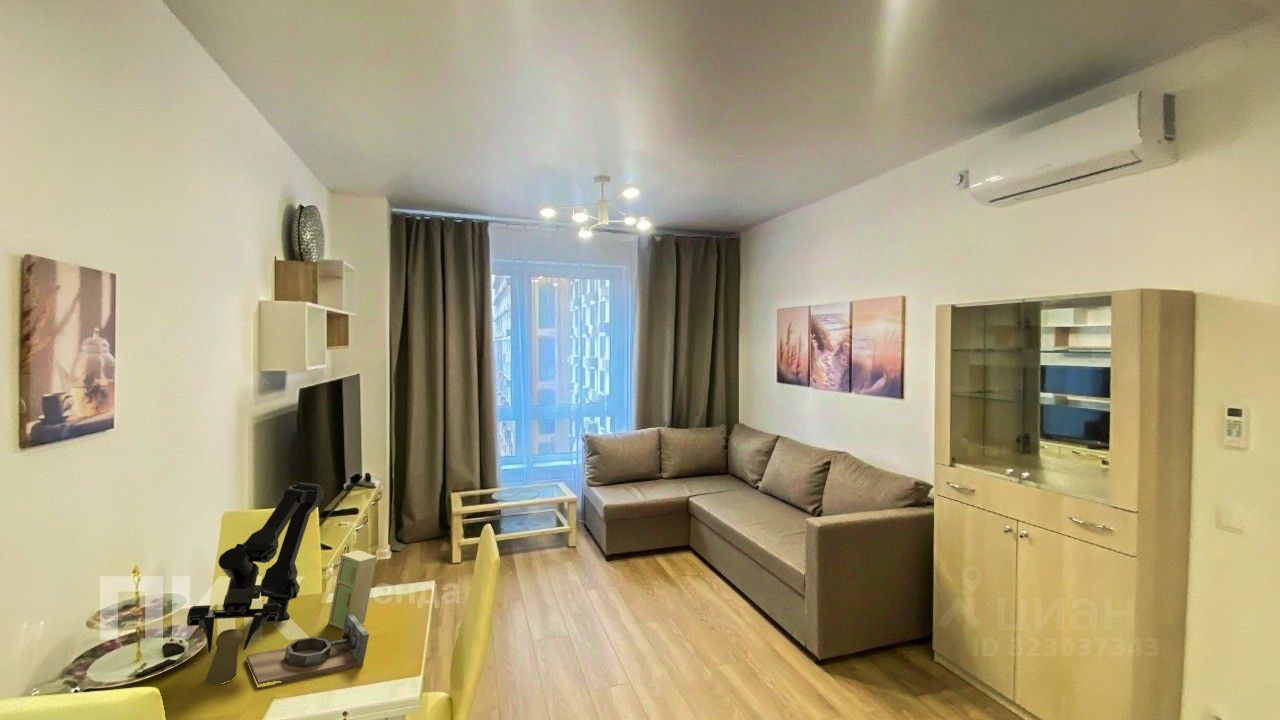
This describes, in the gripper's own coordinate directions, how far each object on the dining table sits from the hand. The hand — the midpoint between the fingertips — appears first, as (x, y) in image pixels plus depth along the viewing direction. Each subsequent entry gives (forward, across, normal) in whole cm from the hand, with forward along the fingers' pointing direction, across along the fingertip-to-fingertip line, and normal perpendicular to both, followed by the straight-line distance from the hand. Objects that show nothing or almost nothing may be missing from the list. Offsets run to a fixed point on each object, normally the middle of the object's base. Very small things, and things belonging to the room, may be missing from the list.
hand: (226, 650), depth 133 cm
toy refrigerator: (-13, +28, +24) cm, 39 cm away
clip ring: (0, +21, +8) cm, 22 cm away
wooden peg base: (+2, +18, +8) cm, 20 cm away
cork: (+4, 0, +6) cm, 7 cm away
